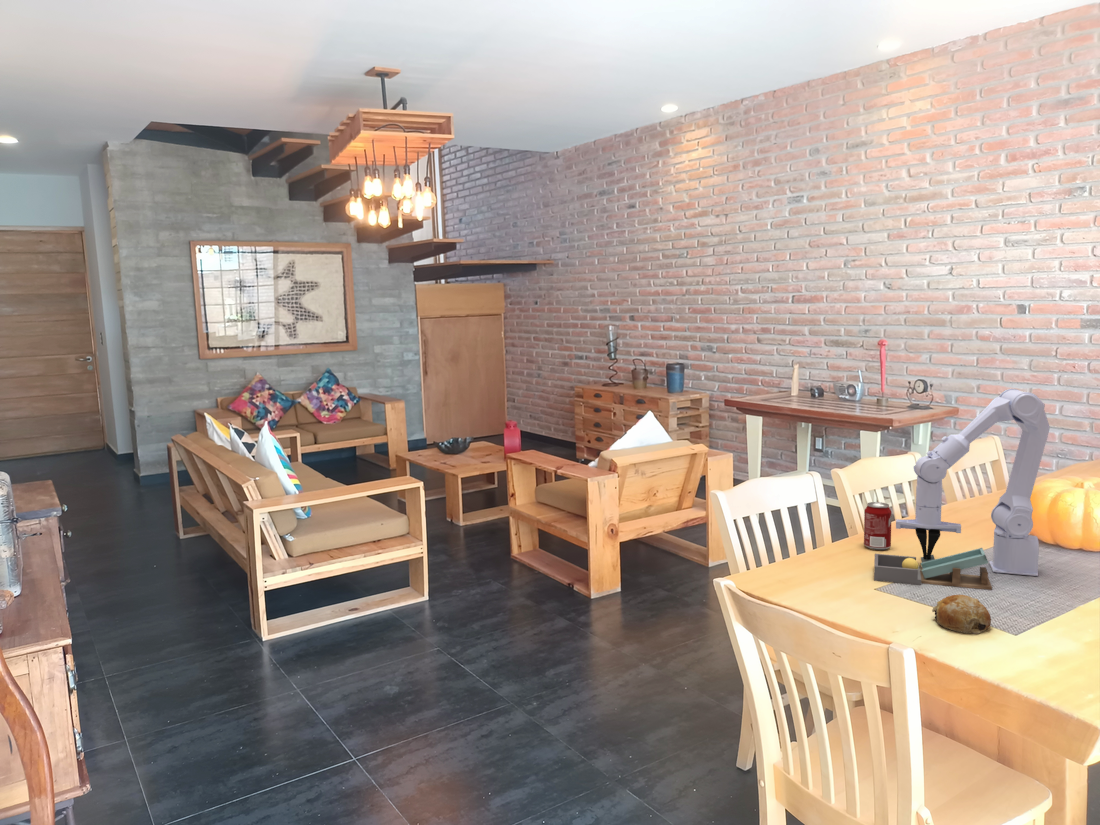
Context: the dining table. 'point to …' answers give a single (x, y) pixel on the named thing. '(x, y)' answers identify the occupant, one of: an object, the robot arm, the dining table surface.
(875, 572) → the tray
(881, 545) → the soda can
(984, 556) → the lever
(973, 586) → the base
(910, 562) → the ball
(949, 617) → the bread roll
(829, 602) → the dining table surface
